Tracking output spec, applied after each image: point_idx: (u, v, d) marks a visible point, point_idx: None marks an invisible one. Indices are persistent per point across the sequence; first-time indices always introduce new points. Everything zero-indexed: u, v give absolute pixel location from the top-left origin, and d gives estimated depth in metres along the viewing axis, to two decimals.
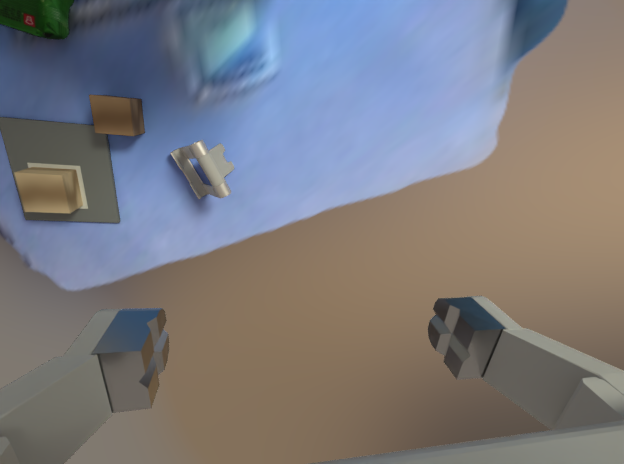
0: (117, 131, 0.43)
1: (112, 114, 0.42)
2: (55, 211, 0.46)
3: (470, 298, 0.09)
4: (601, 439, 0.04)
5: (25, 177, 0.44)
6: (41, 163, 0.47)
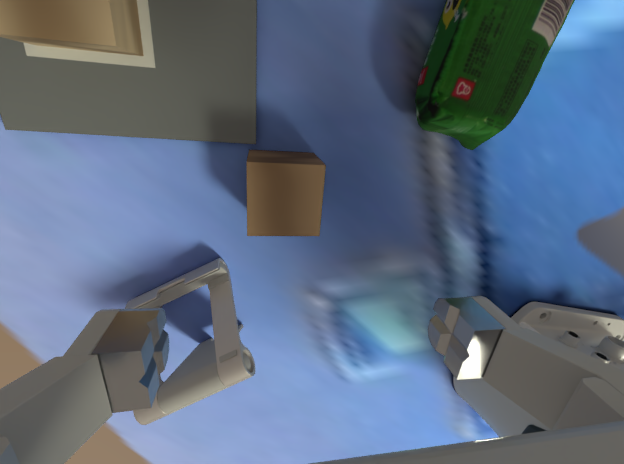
0: (254, 207, 0.20)
1: (288, 203, 0.20)
2: None
3: (470, 298, 0.09)
4: (602, 440, 0.04)
5: None
6: None
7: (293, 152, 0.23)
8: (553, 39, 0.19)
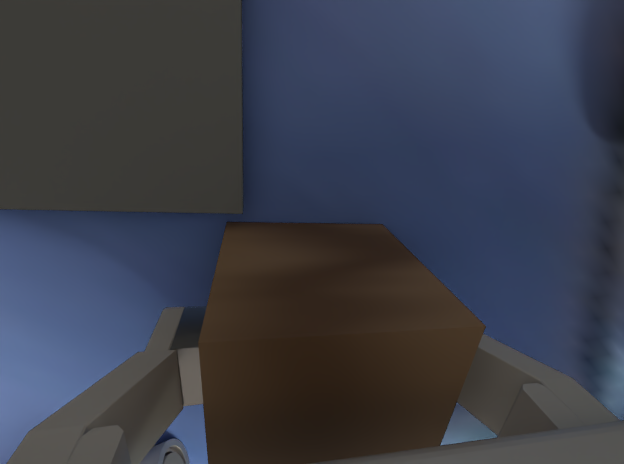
0: (235, 460, 0.06)
1: (346, 435, 0.06)
2: None
3: None
4: (600, 439, 0.04)
5: None
6: None
7: (337, 229, 0.09)
8: None
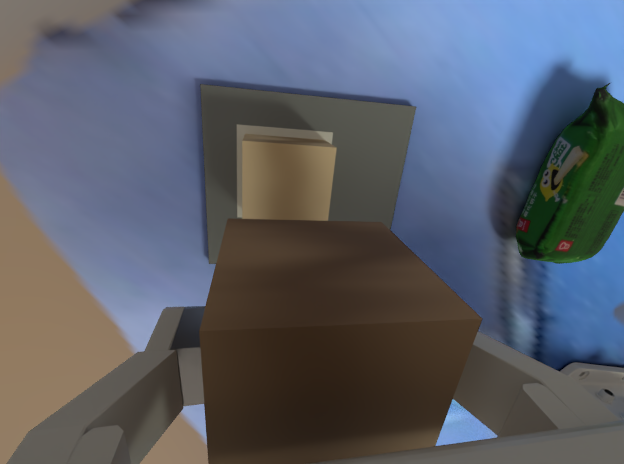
0: (235, 450, 0.06)
1: (344, 427, 0.06)
2: (245, 204, 0.20)
3: None
4: (601, 439, 0.04)
5: (324, 166, 0.20)
6: None
7: (337, 226, 0.09)
8: None
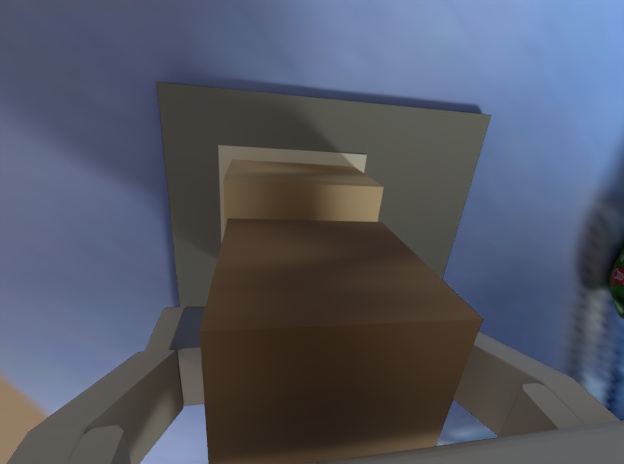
0: (235, 450, 0.06)
1: (344, 427, 0.06)
2: None
3: None
4: (600, 439, 0.04)
5: (362, 217, 0.12)
6: None
7: (337, 226, 0.09)
8: None
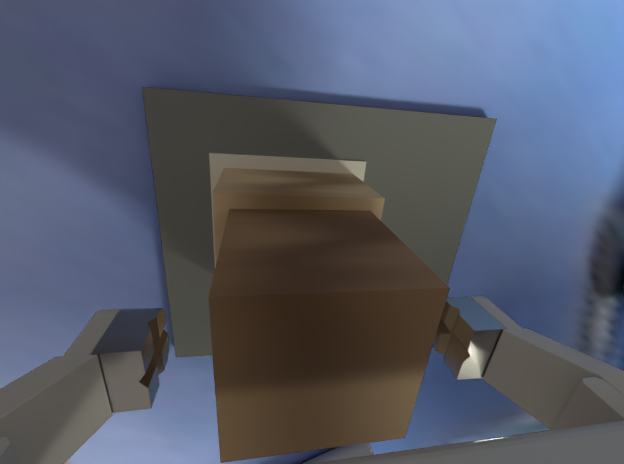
0: (240, 404, 0.07)
1: (333, 384, 0.07)
2: None
3: (470, 298, 0.09)
4: (602, 440, 0.04)
5: None
6: None
7: (329, 214, 0.10)
8: None
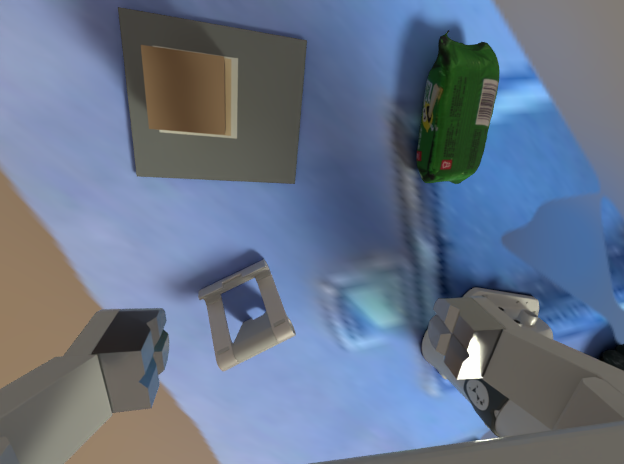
0: (154, 97, 0.20)
1: (188, 95, 0.20)
2: None
3: (470, 298, 0.09)
4: (601, 439, 0.04)
5: None
6: (237, 80, 0.29)
7: None
8: (489, 122, 0.33)
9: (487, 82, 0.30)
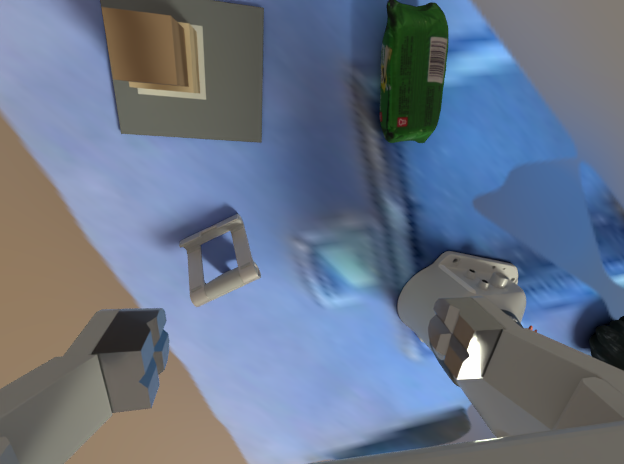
0: (115, 52, 0.24)
1: (144, 50, 0.25)
2: None
3: (470, 298, 0.09)
4: (602, 440, 0.04)
5: None
6: (203, 46, 0.33)
7: None
8: (442, 79, 0.35)
9: (434, 39, 0.32)
